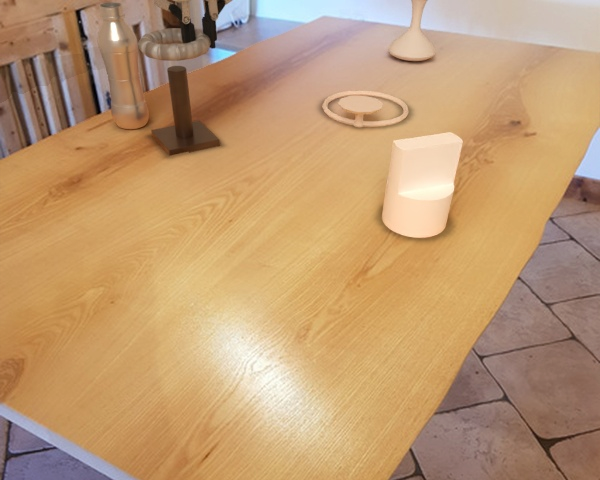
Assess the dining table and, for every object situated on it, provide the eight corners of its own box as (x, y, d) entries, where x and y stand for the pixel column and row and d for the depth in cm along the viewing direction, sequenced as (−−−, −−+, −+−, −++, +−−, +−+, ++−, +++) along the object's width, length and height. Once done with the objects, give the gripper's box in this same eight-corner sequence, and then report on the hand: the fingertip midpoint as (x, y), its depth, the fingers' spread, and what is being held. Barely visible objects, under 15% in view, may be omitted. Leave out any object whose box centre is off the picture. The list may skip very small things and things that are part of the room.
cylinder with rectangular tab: (425, 200, 82) (440, 123, 74) (458, 232, 75) (478, 151, 68) (370, 210, 79) (380, 131, 72) (400, 244, 73) (414, 161, 65)
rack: (170, 158, 91) (158, 81, 82) (152, 138, 96) (140, 64, 88) (220, 147, 94) (214, 72, 86) (200, 128, 100) (192, 56, 92)
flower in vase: (377, 56, 134) (390, -65, 118) (407, 47, 140) (423, -70, 124) (420, 70, 127) (440, -57, 111) (449, 60, 133) (472, -62, 117)
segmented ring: (153, 66, 80) (150, 50, 79) (131, 46, 87) (129, 31, 86) (221, 56, 84) (220, 40, 83) (195, 37, 91) (194, 23, 90)
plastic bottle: (139, 116, 104) (118, -2, 91) (158, 127, 100) (139, 6, 87) (107, 125, 100) (81, 3, 87) (126, 137, 97) (101, 12, 84)
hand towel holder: (415, 79, 110) (405, 118, 95) (412, 100, 113) (401, 142, 97) (332, 70, 113) (309, 106, 97) (331, 91, 115) (309, 129, 100)
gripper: (229, -99, 81) (236, 35, 93) (120, -95, 74) (143, 48, 86) (251, -94, 76) (256, 47, 88) (137, -89, 70) (159, 61, 82)
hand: (200, 46), depth 87 cm, fingers closed on segmented ring, 2 cm apart
